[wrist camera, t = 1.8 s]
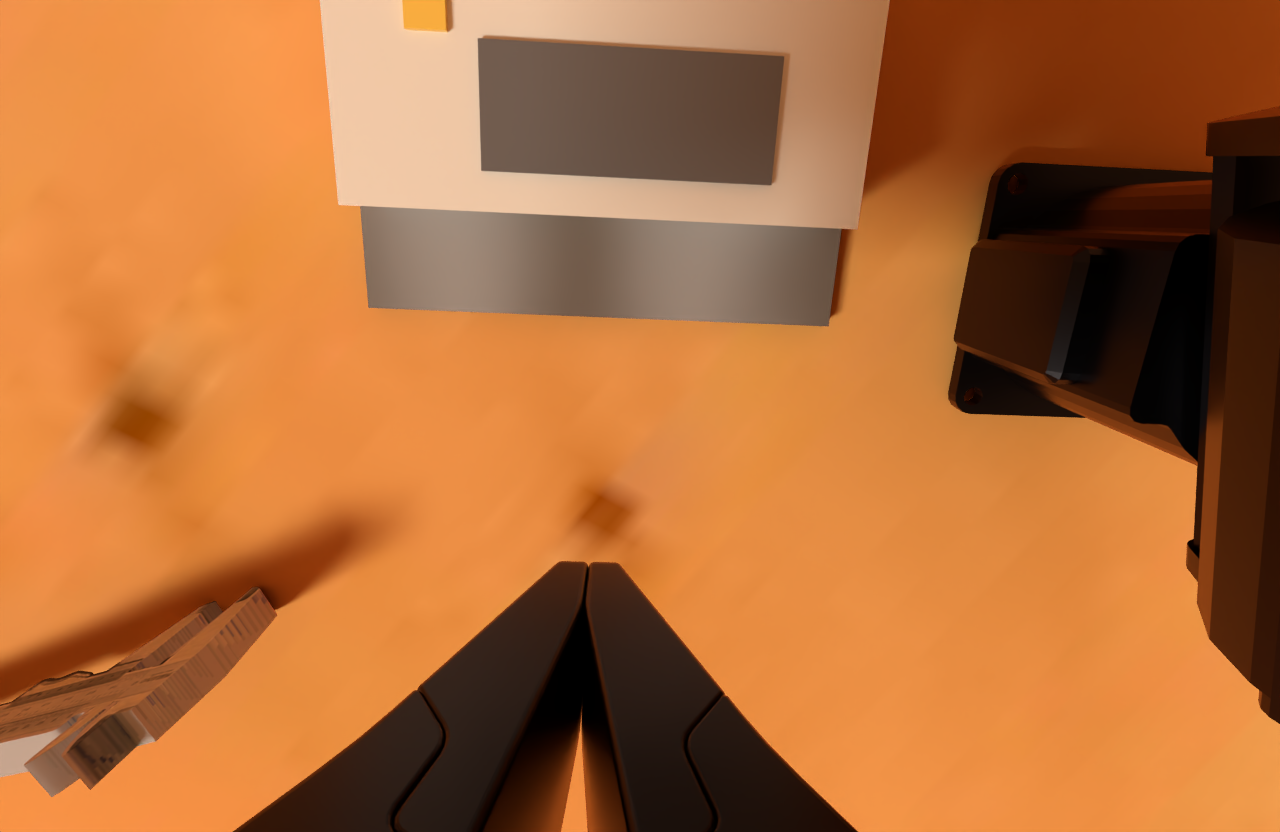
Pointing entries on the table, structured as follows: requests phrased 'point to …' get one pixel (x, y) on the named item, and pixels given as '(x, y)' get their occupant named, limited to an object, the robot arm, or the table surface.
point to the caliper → (125, 697)
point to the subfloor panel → (598, 266)
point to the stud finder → (606, 107)
